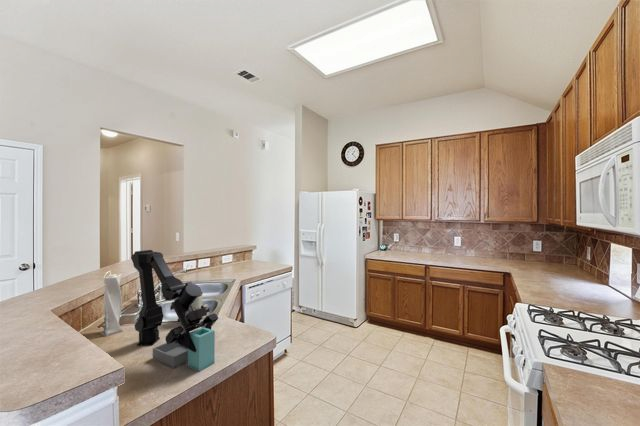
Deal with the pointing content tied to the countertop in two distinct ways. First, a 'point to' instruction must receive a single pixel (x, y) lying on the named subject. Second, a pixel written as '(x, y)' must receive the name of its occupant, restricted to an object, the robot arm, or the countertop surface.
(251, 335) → the countertop surface
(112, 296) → the skyscraper
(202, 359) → the teal square planter
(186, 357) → the gray square tray
